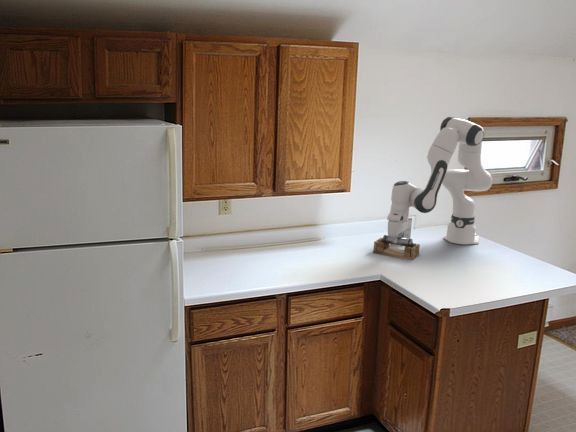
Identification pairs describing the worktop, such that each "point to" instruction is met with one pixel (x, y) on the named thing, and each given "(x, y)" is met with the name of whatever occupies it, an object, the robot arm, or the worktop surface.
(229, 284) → the worktop surface
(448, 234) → the robot arm
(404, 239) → the cylinder
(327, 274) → the worktop surface
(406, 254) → the cradle
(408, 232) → the syrup box
